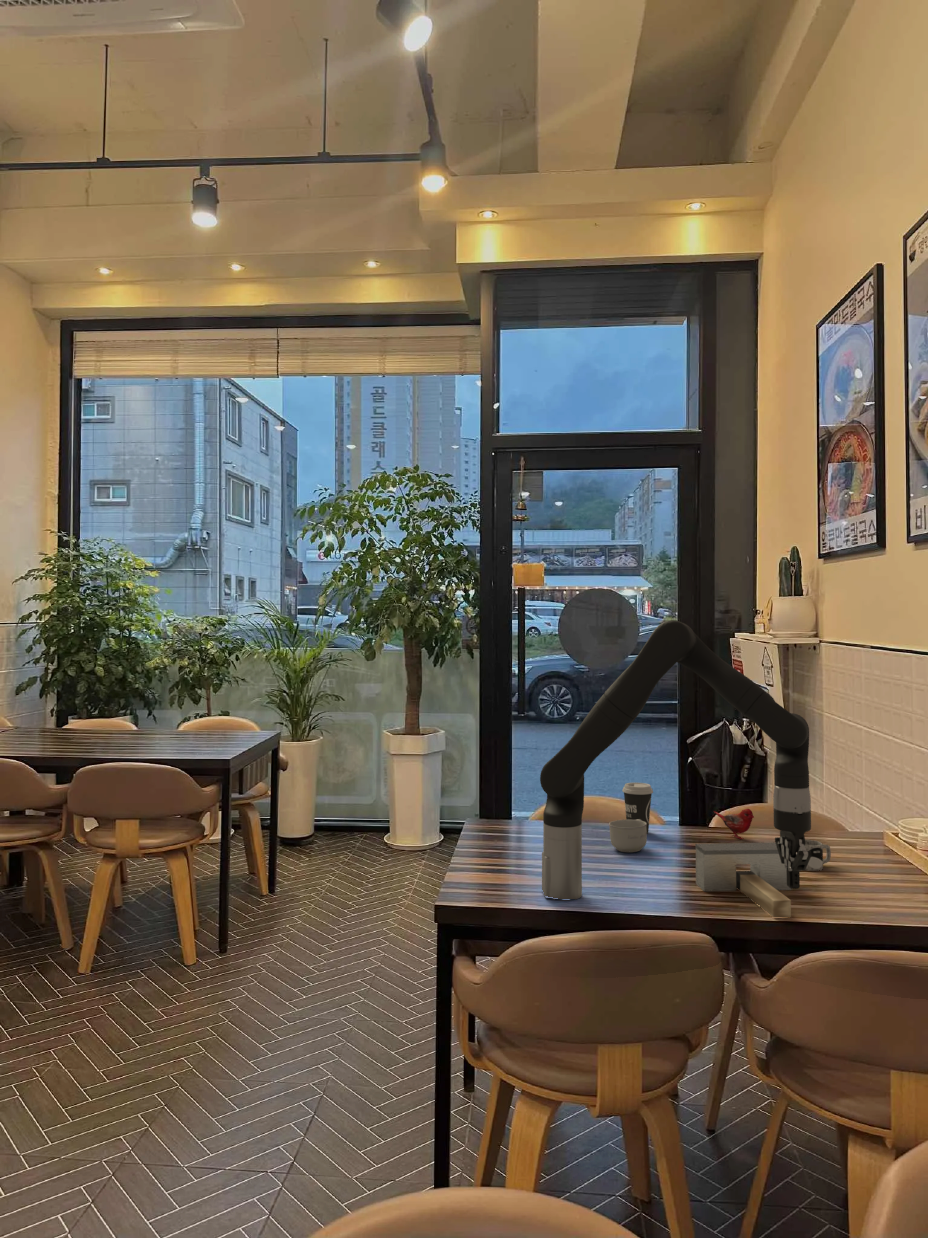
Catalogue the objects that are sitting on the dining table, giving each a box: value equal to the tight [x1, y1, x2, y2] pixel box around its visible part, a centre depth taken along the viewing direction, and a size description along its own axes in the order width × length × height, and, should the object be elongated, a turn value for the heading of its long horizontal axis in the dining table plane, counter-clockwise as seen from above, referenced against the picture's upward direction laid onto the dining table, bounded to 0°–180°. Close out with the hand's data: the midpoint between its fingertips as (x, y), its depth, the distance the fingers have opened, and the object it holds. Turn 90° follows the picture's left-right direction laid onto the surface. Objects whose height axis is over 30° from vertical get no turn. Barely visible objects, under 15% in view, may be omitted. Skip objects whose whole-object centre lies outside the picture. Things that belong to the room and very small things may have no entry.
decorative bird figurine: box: [713, 808, 755, 840], centre depth 250 cm, size 3×18×10 cm, turn 24°
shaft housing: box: [695, 842, 793, 892], centre depth 202 cm, size 22×6×10 cm, turn 93°
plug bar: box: [736, 870, 792, 918], centre depth 191 cm, size 4×22×4 cm, turn 3°
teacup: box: [608, 819, 648, 853], centre depth 237 cm, size 14×11×8 cm
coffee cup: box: [621, 782, 654, 835], centre depth 256 cm, size 10×10×15 cm
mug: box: [805, 839, 832, 872], centre depth 219 cm, size 10×7×7 cm
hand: (793, 887), depth 175 cm, fingers closed
